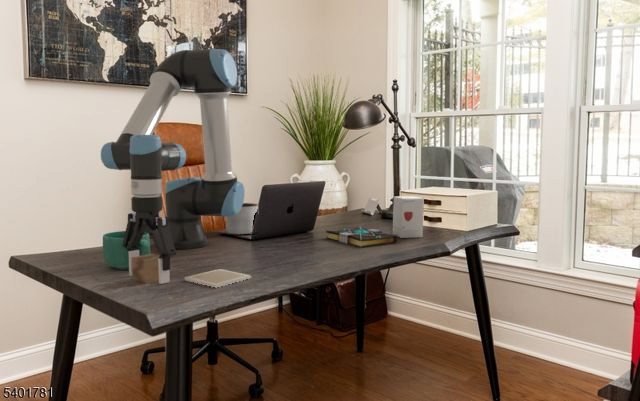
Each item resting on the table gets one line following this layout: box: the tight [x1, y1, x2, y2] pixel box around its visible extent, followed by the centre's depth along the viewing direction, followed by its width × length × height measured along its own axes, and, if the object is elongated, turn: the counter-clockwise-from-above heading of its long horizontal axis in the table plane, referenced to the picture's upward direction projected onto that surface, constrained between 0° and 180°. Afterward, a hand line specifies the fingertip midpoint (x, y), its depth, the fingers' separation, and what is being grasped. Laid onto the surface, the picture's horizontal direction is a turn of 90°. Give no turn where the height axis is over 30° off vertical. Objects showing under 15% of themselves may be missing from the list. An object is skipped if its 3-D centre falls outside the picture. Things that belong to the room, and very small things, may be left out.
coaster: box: [184, 268, 252, 289], centre depth 139 cm, size 12×12×1 cm
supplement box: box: [392, 195, 425, 239], centre depth 204 cm, size 9×9×15 cm
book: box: [325, 226, 399, 248], centre depth 195 cm, size 22×17×5 cm
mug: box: [102, 230, 151, 270], centre depth 151 cm, size 17×13×10 cm
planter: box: [225, 202, 259, 235], centre depth 209 cm, size 12×12×11 cm
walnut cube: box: [131, 253, 160, 284], centre depth 138 cm, size 6×6×6 cm
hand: (149, 278), depth 138 cm, fingers open, 12 cm apart
